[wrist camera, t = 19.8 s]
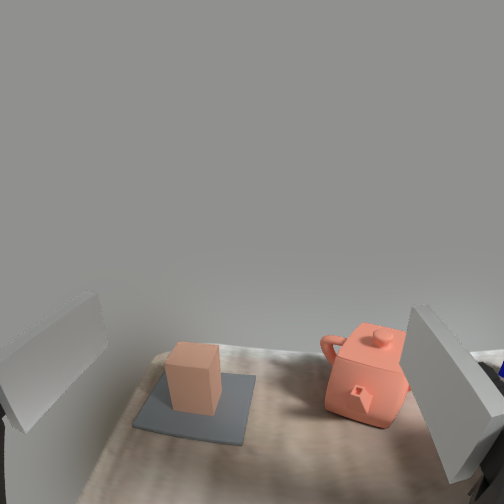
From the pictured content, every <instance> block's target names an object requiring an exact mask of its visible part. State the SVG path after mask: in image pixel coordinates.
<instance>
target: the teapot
mask: <svg viewBox="0 0 504 504" xmlns="http://www.w3.org/2000/svg"><path fill="white" fill-rule="evenodd" d="M405 336H406V332H404V331H400V330H396V329H391V328H387V327H382V326H378V325H373V324H368V323H362V324H361V325H360V326H358V327H357V329H356V330H355V331H354V332H353V333H352V334H351V335H350V336H349V338H348V339H346V338H343V337H339V336H334V335H328V336H324V337H322V339H321V341H320V345H321V349H322V351H323V353H324V355H325V357H326V358H327V359H328V361H329V362H330V364H331V365H332V366H333V368H332V371H331V374H330V378H329V382H328V386H327V390H326V395H325V409H326V410H328V411H331V412H333V413H336V414H339V415H341V416H344V417H347V418H350V419H353V420H356V421H360V422H363V423H366V424H370V425H373V426H377V427H381V428H386V429H387V428H388V427H389V426H390V425H391V424H392V422H393V421H394V419H395V417H396V416H397V414H398V412H399V410H400V408H401V406H402V404H403V402H404V400H405V398H406V395H407V392H408V391H411V388H410V386H409V384H408V381H407V379H406V377H405V375H404V373H403V371H402V369H401V366H400V364H399V361H400V358H401V353H402V349H403V345H404V341H405ZM333 344H335V345H340V346H342V347H341V348H340V350H339V351H338V353H337V355H336V353H335V351H334V348H333Z"/></svg>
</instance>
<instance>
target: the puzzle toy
mask: <svg viewBox="0 0 504 504" xmlns="http://www.w3.org/2000/svg"><path fill="white" fill-rule="evenodd" d="M498 376H499V377H500V380H502V381H503V382H504V361H503V364H502V366H501V369H500V371H499V374H498Z"/></svg>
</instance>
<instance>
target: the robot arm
mask: <svg viewBox="0 0 504 504" xmlns="http://www.w3.org/2000/svg"><path fill="white" fill-rule="evenodd" d="M108 346H109V343H108V339H107V335H106V330H105V326H104V321H103V316H102V311H101V306H100V300H99V294H98V292H94V291H84V292H82V293H81V294H79V295H77V296H76V297H74V298H73V299H71V300H70V301H68V302H67V303H65V304H64V305H62V306H61V307H59V308H58V309H56V310H55V311H53V312H52V313H50V314H49V315H47V316H46V317H44V318H43V319H42V320H40V321H39V322H37V323H36V324H34V325H33V326H31V327H30V328H29V329H27V330H26V331H24V332H23V333H21V334H20V335H18V336H17V337H16V338H14V339H13V340H11V341H10V342H9V343H7V344H6V345H4V346H3V347H2V348H0V504H6V496H5V479H4V435H5V425H4V422H3V420H2V419H1V418H2V417H3V416H4V415H5V414H6V416H7V417H8V419H9V421H10V423H11V425H12V427H14V428H16V429H18V430H19V431H21V432H23V433H25V434H26V433H27V432H28V431H29V430H30V429H31V428H32V427H33V426H34V425H35V423H36V422H37V421H38V420H39V419H40V418H41V417H42V416H43V414H45V412H46V411H47V410H48V409H49V408H50V407H51V406H52V405H53V404H54V403H55V402H56V401H57V400H58V398H59V397H60V396H61V395H62V394H63V393H64V392H65V391H66V390H67V389H68V388H69V387H70V386H71V385H72V384H73V383H74V381H75V380H76V379H77V378H78V377H79V376H80V375H81V374H82V373H83V372H84V371H85V370H86V369H87V368H88V367H89V366H90V365H91V364H92V363H93V362H94V360H96V358H97V357H98V356H99V355H100V354H101V353H102V352H103V351H104V350H105V349H106V348H107V347H108ZM399 364H400V366H401V369H402V371H403V373H404V375H405V377H406V379H407V381H408V384H409V386H410V388H411V390H412V392H413V395H414V397H415V399H416V401H417V404H418V406H419V408H420V411H421V413H422V415H423V417H424V420H425V422H426V425H427V427H428V429H429V432H430V434H431V437H432V439H433V442H434V444H435V447H436V449H437V452H438V454H439V457H440V459H441V462H442V465H443V467H444V470H445V473H446V476H447V478H448V481H449V484H452V483H456V482H459V481H463V480H466V479H469V478H471V477H472V476H473V474H474V473H475V471H476V470H477V469H478V467H479V466H480V467H481V469H482V471H483V475H482V476H481V478H480V479H479V480H478V481H477V483H476V484H475V485H474V487H473V488H472V489H471V490H470V492H469V493H468V494H467V495H469V496H470V495H471V494H472V493H473V492H474V493H473V495H472V498H471V500H470V502H469V504H504V382H503V381H502V380H500V377H499V376H498V374H497V373H496V372H495V371H494V370H493V369H492V368H491V367H489V366H488V365H486V364H485V363H483V362H478V363H477V361H476V360H475V359H474V358H473V356H472V355H471V354H470V353H469V352H468V351H467V349H466V348H465V347H464V346H463V344H462V343H461V342H460V341H459V340H458V338H457V337H456V336H455V335H454V334H453V332H452V331H451V330H450V329H449V328H448V327H447V325H446V324H445V323H444V322H443V321H442V320H441V318H440V317H439V316H438V315H437V314H436V313H435V312H434V311H433V309H432V308H431V307H430V306H429V305H412V307H411V312H410V318H409V323H408V327H407V332H406V336H405V341H404V345H403V349H402V353H401V358H400V361H399Z"/></svg>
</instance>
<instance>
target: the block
mask: <svg viewBox="0 0 504 504" xmlns="http://www.w3.org/2000/svg"><path fill="white" fill-rule="evenodd" d="M164 364H165V370H166V375H167V381H168V386H169V391H170V396H171V401H172V406H173V410H175V411H181V412H187V413H194V414H201V415H208V416H214V413H215V410H216V407H217V404H218V401H219V398H220V395H221V392H222V385H221V371H220V357H219V345H211V344H200V343H189V342H180V341H179V342H178V343H177V345H176V346H175V348H174V349H173V351H172V353H171V354H170V356H169V357H168V359H167V360H166V362H165V363H164Z"/></svg>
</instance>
